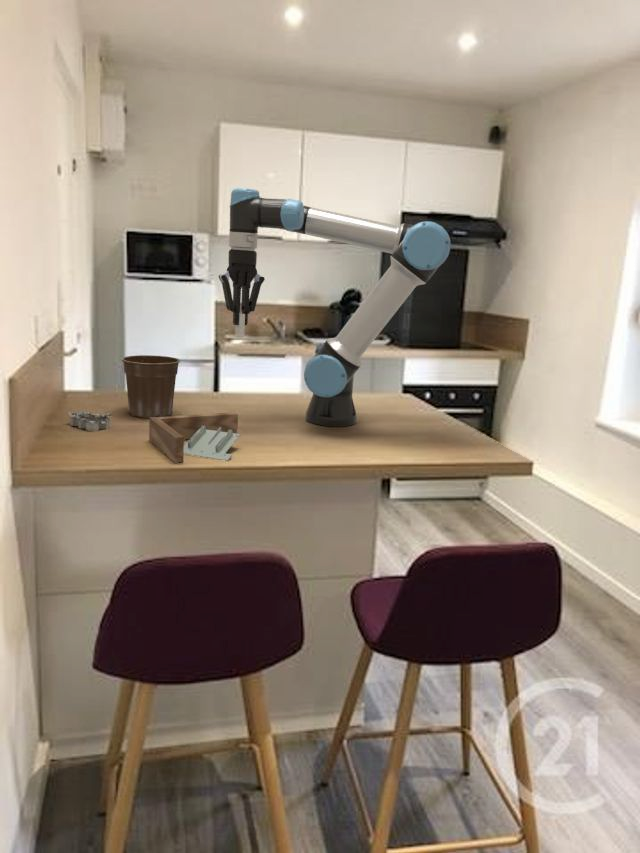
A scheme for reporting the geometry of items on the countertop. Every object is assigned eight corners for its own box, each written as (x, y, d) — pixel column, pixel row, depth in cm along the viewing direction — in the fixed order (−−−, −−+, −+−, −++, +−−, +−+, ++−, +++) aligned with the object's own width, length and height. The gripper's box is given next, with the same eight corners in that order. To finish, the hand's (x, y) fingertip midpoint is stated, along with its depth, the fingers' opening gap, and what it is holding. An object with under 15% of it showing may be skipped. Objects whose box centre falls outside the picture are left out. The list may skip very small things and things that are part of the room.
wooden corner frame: (234, 434, 184) (234, 412, 182) (266, 454, 168) (267, 430, 166) (149, 440, 172) (149, 417, 171) (174, 463, 156) (175, 437, 154)
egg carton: (114, 429, 182) (114, 414, 181) (89, 433, 176) (88, 417, 175) (90, 420, 189) (90, 406, 188) (65, 424, 183) (65, 409, 182)
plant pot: (131, 405, 208) (131, 352, 204) (184, 409, 208) (185, 356, 204) (114, 418, 192) (113, 361, 188) (171, 422, 192) (172, 365, 188)
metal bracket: (193, 419, 174) (248, 427, 170) (196, 439, 177) (250, 447, 173) (165, 448, 162) (224, 457, 158) (169, 469, 165) (226, 478, 161)
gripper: (225, 248, 179) (223, 338, 184) (270, 251, 185) (266, 338, 191) (214, 247, 185) (212, 335, 191) (258, 250, 191) (255, 335, 197)
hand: (239, 336), depth 191 cm, fingers closed
